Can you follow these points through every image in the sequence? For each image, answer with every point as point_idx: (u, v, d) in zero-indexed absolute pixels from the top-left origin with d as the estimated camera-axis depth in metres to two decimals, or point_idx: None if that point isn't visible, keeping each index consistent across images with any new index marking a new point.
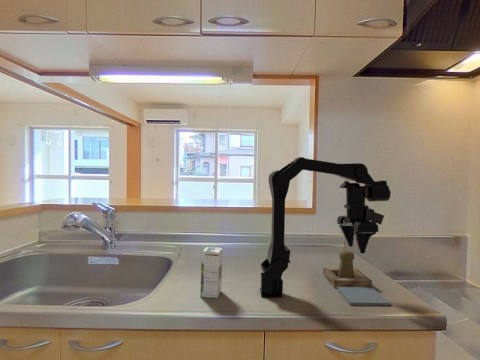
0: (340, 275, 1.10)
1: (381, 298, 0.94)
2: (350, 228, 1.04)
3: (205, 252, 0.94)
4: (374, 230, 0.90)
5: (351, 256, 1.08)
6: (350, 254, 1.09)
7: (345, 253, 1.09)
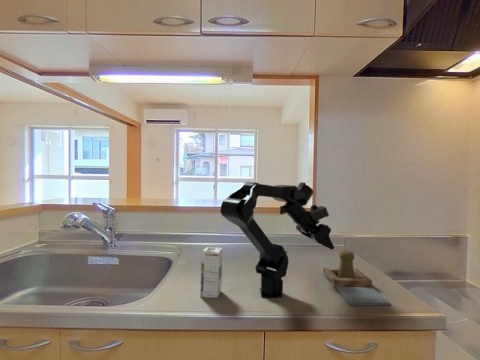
0: (340, 275, 1.10)
1: (381, 298, 0.94)
2: None
3: (205, 252, 0.94)
4: (328, 231, 0.99)
5: (351, 256, 1.08)
6: (350, 254, 1.09)
7: (345, 253, 1.09)
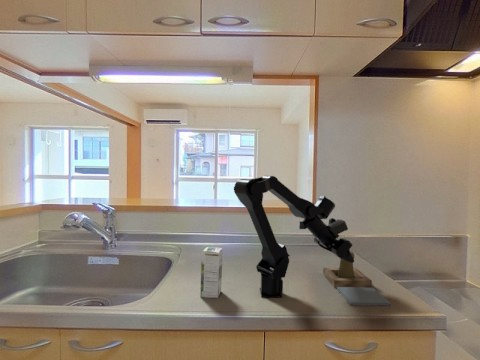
0: (340, 275, 1.10)
1: (381, 298, 0.94)
2: None
3: (205, 252, 0.94)
4: (349, 246, 1.01)
5: None
6: None
7: None
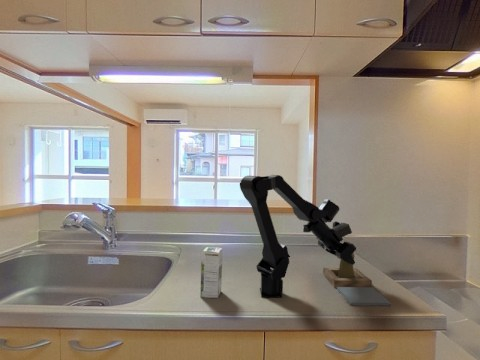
0: (340, 275, 1.10)
1: (381, 298, 0.94)
2: None
3: (205, 252, 0.94)
4: (353, 250, 1.01)
5: None
6: None
7: None
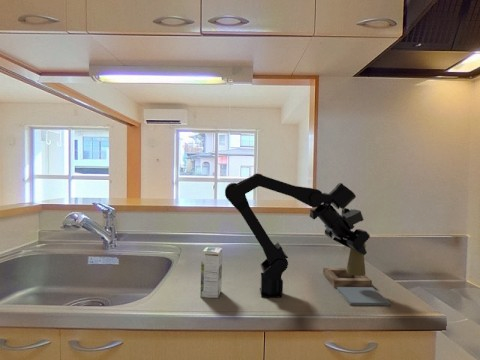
0: (350, 266, 1.00)
1: (381, 298, 0.94)
2: None
3: (205, 252, 0.94)
4: (366, 238, 0.91)
5: None
6: None
7: None
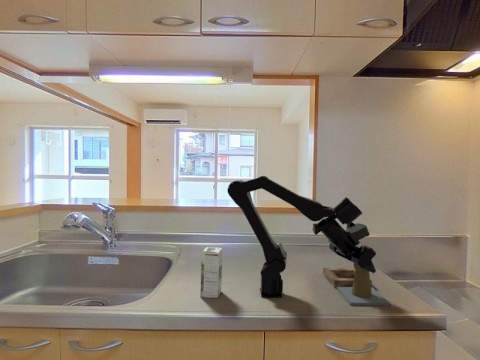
0: (355, 288, 0.96)
1: (381, 298, 0.94)
2: None
3: (205, 252, 0.94)
4: (372, 255, 0.87)
5: None
6: None
7: None
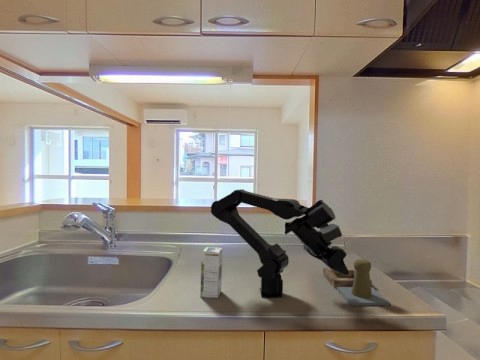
0: (355, 288, 0.96)
1: (381, 298, 0.94)
2: None
3: (205, 252, 0.94)
4: (343, 256, 0.85)
5: (368, 266, 0.95)
6: (367, 264, 0.95)
7: (361, 263, 0.95)
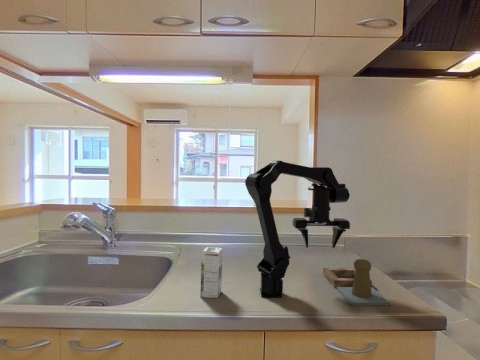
0: (355, 288, 0.96)
1: (381, 298, 0.94)
2: None
3: (205, 252, 0.94)
4: None
5: (368, 266, 0.95)
6: (367, 264, 0.95)
7: (361, 263, 0.95)
